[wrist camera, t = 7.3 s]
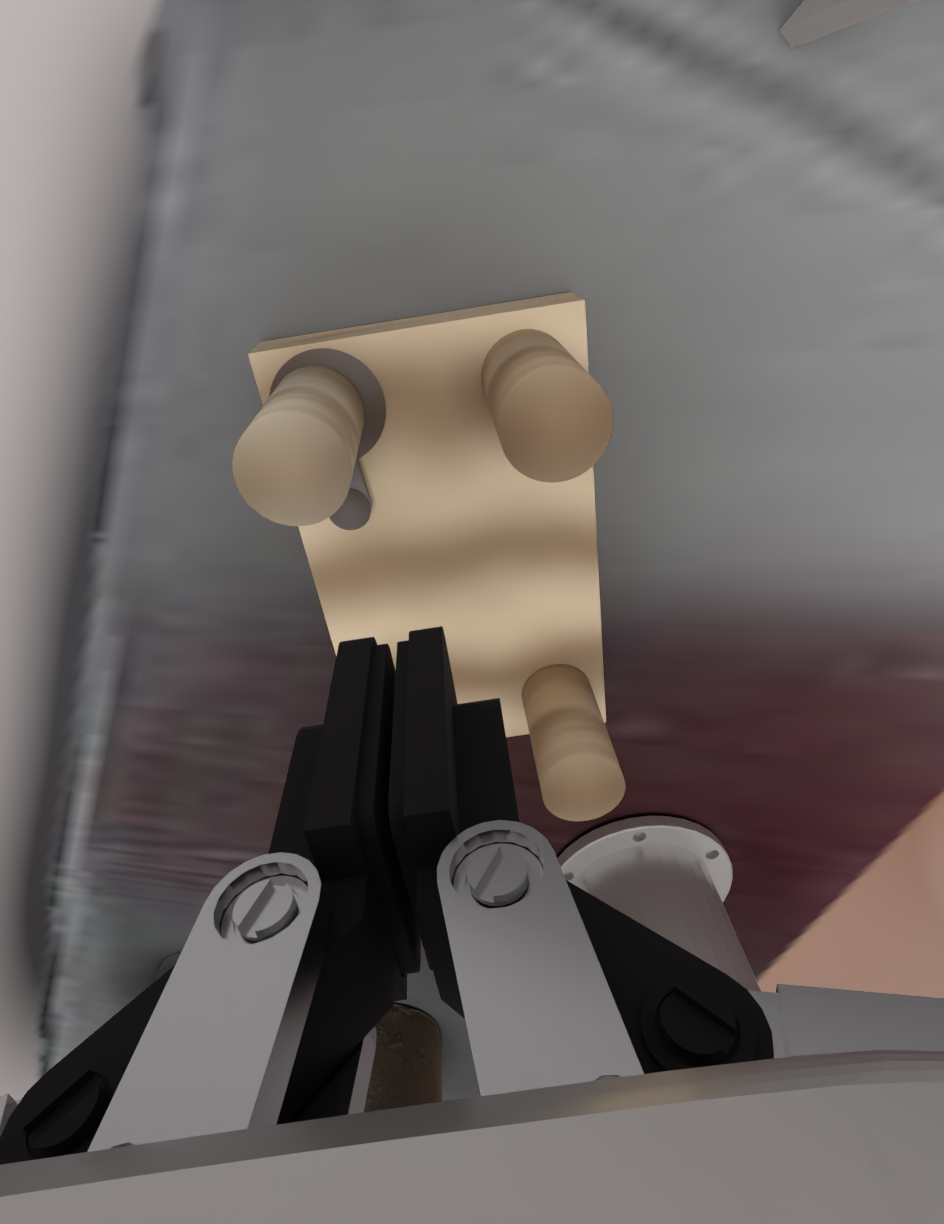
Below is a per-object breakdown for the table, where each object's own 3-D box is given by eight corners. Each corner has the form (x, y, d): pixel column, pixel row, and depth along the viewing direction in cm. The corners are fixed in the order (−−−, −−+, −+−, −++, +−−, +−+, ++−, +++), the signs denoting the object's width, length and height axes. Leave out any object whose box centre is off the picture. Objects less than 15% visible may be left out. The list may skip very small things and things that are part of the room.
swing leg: (397, 512, 30) (392, 592, 24) (317, 531, 30) (292, 616, 24) (348, 354, 27) (329, 402, 21) (258, 377, 27) (213, 431, 21)
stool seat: (595, 693, 40) (642, 823, 31) (368, 728, 40) (356, 866, 32) (572, 291, 29) (633, 331, 21) (260, 341, 29) (198, 400, 21)
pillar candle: (406, 988, 53) (399, 1243, 40) (461, 1047, 58) (470, 1292, 45) (295, 1024, 55) (254, 1279, 42) (357, 1079, 59) (337, 1324, 47)
